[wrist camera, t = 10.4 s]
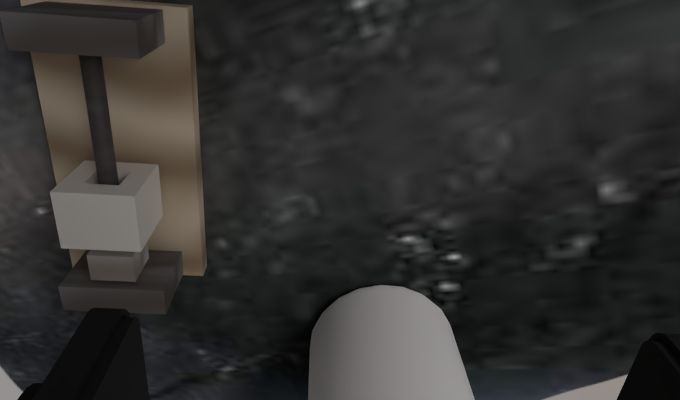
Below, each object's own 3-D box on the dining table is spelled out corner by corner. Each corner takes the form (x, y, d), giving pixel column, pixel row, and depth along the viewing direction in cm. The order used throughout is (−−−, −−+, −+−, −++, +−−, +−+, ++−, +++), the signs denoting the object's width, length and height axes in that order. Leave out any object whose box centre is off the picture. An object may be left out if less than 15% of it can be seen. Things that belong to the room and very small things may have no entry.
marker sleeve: (84, 160, 35) (49, 192, 31) (158, 164, 36) (134, 196, 31) (92, 211, 37) (61, 248, 33) (163, 214, 37) (141, 251, 33)
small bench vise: (32, -7, 32) (-33, 4, 26) (192, 5, 33) (164, 18, 27) (81, 259, 41) (41, 311, 35) (206, 265, 42) (187, 317, 36)
